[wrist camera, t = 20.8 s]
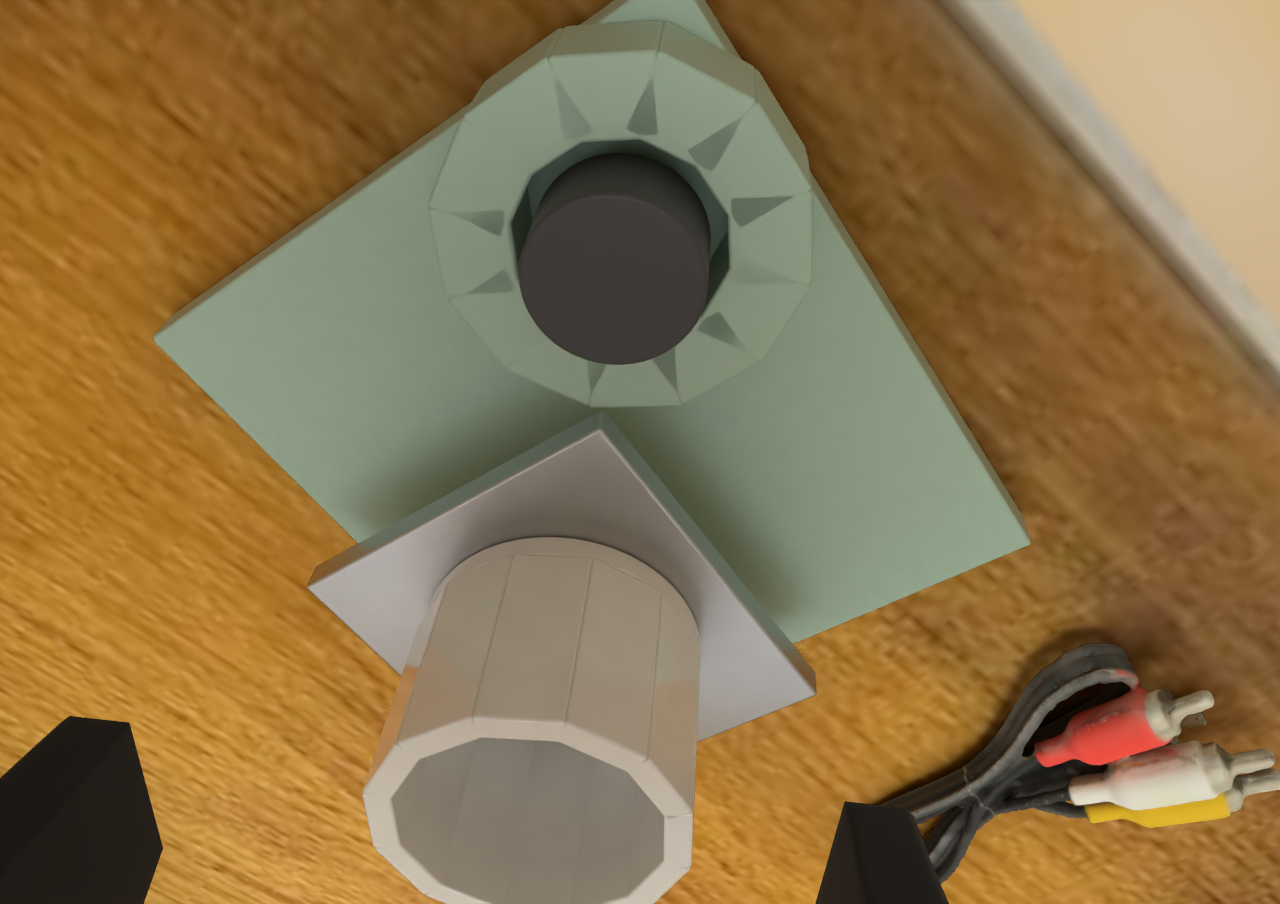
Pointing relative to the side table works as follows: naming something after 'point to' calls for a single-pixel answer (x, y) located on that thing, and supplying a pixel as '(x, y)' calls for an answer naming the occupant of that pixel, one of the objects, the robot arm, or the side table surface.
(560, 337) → the tare button
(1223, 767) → the composite cable
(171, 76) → the side table surface
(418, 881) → the beige cup
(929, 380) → the scale
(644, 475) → the grey square plate
